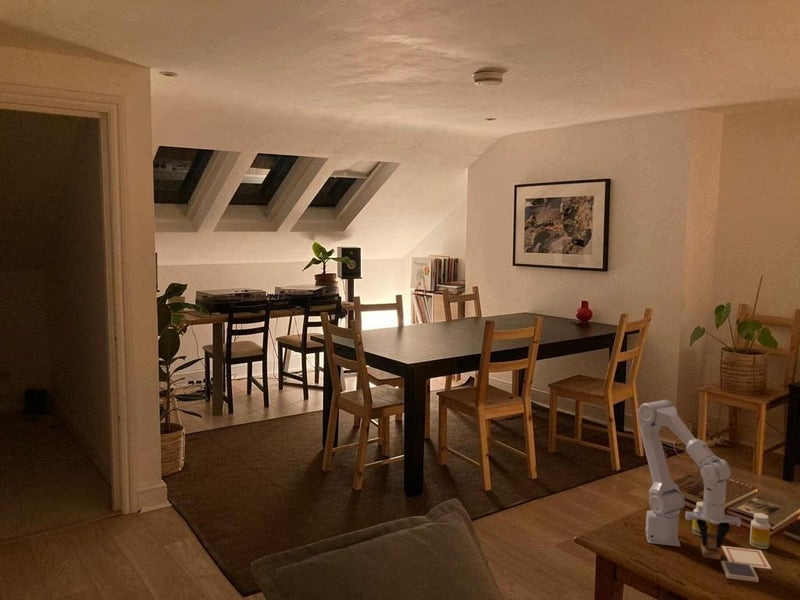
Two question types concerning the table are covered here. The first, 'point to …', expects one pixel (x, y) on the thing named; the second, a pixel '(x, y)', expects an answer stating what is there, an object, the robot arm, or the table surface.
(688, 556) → the table surface
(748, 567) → the ink pad
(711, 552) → the stamp
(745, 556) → the print sheet
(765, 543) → the supplement bottle
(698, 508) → the supplement bottle
